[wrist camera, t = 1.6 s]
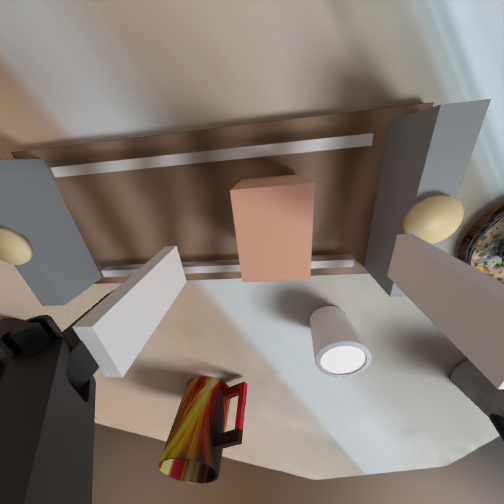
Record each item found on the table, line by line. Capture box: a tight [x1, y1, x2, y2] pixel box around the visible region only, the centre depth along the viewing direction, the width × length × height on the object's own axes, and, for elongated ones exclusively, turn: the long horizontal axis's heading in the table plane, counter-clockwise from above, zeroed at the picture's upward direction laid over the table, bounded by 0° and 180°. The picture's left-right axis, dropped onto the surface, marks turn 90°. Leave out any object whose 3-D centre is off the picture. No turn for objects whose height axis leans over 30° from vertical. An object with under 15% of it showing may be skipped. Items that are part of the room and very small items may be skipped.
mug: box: [159, 376, 247, 484], centre depth 35 cm, size 10×14×12 cm
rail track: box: [11, 102, 434, 284], centre depth 24 cm, size 44×18×2 cm, turn 95°
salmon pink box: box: [230, 174, 315, 282], centre depth 19 cm, size 6×8×8 cm
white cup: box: [310, 306, 372, 377], centre depth 28 cm, size 7×7×7 cm
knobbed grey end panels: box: [0, 99, 491, 306], centre depth 21 cm, size 44×16×7 cm, turn 95°
